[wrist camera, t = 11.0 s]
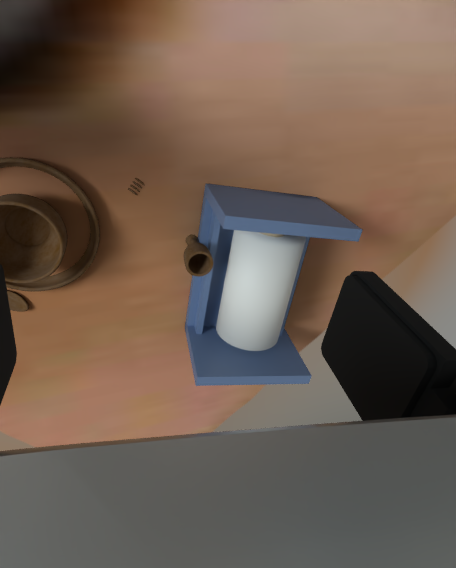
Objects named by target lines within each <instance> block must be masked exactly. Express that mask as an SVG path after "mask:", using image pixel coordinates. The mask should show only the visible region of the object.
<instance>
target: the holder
mask: <svg viewBox="0 0 456 568" xmlns="http://www.w3.org/2000/svg"><path fill="white" fill-rule="evenodd" d="M234 230H239V231H250V232H261V233H272V234H283V235H293V236H304V237H306V241H305V245H304V249H303V252H302V256H301V259H300V263H299V266H298V270H297V274H296V277H295V281H294V284H293V288H292V291H291V295H290V299H289V302H288V306H287V309H286V313H285V316H284V320H283V324H282V327H281V331H280V334H279V338H278V341H277V343H276V344H275V345H274V346H273V347H272V348H270V349H267V350H263V351H248V350H243V349H240V348H237V347H234V346H232V345H230V344H228V343H227V342H225V341H224V340H223V339H222V338H221V337H220V336H219V335H218V333H217V330H216V324H217V319H218V313H219V308H220V303H221V297H222V292H223V287H224V281H225V276H226V270H227V265H228V260H229V254H230V249H231V243H232V238H233V233H234ZM361 233H362V229H361V228H359V227H358V226H356V225H355V224H354V223H352V222H351V221H349V220H348V219H347V218H345V217H344V216H342V215H341V214H340V213H338V212H337V211H335V210H334V209H332V208H331V207H330V206H328V205H327V204H325V203H324V202H323V201H321V200H320V199H318V198H317V197H311V196H303V195H295V194H287V193H279V192H271V191H263V190H254V189H246V188H238V187H230V186H222V185H214V184H206V185H205V192H204V199H203V206H202V213H201V220H200V226H199V233H198V240H197V241H198V243H202V244H204V245H205V246H206V247H207V248H208V250H209V251H210V253H211V256H212V258H213V268H212V270H211V271H210V272H209V273H208V274H206V275H204V276H200V277H198V276H193V275H192V282H191V289H190V296H189V302H188V309H187V316H186V323H185V331H186V337H187V342H188V347H189V352H190V358H191V363H192V368H193V373H194V378H195V384H196V386H200V385H255V384H306V383H307V384H308V383H309V381H310V378H311V374H310V372H309V371H308V369H307V367H306V365H305V364H304V362H303V360H302V358H301V357H300V355H299V353H298V351H297V350H296V348H295V346H294V344H293V343H292V341H291V339H290V337H289V336H288V334H287V332H286V330H285V329H284V326H285V323H286V319H287V316H288V312H289V309H290V305H291V302H292V298H293V295H294V291H295V288H296V284H297V281H298V277H299V274H300V270H301V267H302V263H303V260H304V256H305V253H306V249H307V246H308V242H309V239H310V237H315V238H326V239H337V240H347V241H359V238H360V236H361Z"/></svg>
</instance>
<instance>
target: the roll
mask: <svg viewBox="0 0 456 568" xmlns="http://www.w3.org/2000/svg"><path fill="white" fill-rule="evenodd" d="M305 241H306V237H304V236H293V235H283V234H272V233H261V232H250V231H239V230H234V233H233V238H232V243H231V249H230V254H229V260H228V265H227V270H226V276H225V281H224V287H223V292H222V297H221V303H220V308H219V313H218V319H217V324H216V330H217V333H218V335H219V336H220V337H221V338H222V339H223V340H224V341H225V342H227V343H228V344H230V345H232V346H234V347H237V348H240V349H243V350H248V351H263V350H267V349H270V348H272V347H273V346H274V345H275V344H276V343H277V341H278V338H279V334H280V331H281V327H282V324H283V320H284V316H285V313H286V309H287V306H288V302H289V299H290V295H291V291H292V288H293V284H294V281H295V277H296V274H297V270H298V266H299V263H300V259H301V256H302V252H303V249H304V245H305Z"/></svg>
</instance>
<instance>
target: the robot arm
mask: <svg viewBox="0 0 456 568" xmlns="http://www.w3.org/2000/svg"><path fill="white" fill-rule="evenodd" d="M321 350H322V355H323V357H324V358H325V360H326V362H327V363H328V365H329V366H330V368H331V370H332V371H333V373H334V375H335V376H336V378H337V379H338V381H339V383H340V385H341V386H342V388H343V389H344V391H345V393H346V394H347V396H348V398H349V399H350V401H351V402H352V404H353V406H354V407H355V409H356V411H357V412H358V414H359V416H360V417H361V419H362V420H363V421H353V422H339V423H325V424H313V425H300V426H288V427H274V428H261V429H249V430H236V431H223V432H211V433H198V434H186V435H175V436H163V437H151V438H139V439H127V440H115V441H103V442H91V443H80V444H69V445H58V446H47V447H36V448H26V449H17V450H7V451H0V568H456V349H455V348H454V347H453V346H451V345H450V344H449V343H448V342H447V341H446V340H445V339H444V338H443V337H442V336H441V335H440V334H439V333H438V332H437V331H436V330H434V329H433V328H432V327H431V326H430V325H429V324H428V323H427V322H426V321H425V320H424V319H423V318H422V317H421V316H419V314H418V313H416V312H415V311H414V310H413V309H412V308H411V307H410V306H409V305H408V304H407V303H406V302H405V301H404V300H403V299H402V298H401V297H400V296H398V295H397V294H396V293H395V292H394V291H393V290H392V289H391V288H390V287H389V286H388V285H387V284H386V283H385V282H384V281H383V280H382V279H380V278H379V277H378V276H377V275H376V274H375V273H374V272H367V271H354V272H352V273H351V274H350V276H347V277H346V278H345V280H344V283H343V285H342V288H341V291H340V294H339V297H338V300H337V302H336V305H335V308H334V311H333V314H332V317H331V319H330V322H329V325H328V328H327V331H326V334H325V336H324V339H323V342H322V346H321ZM16 355H17V352H16V344H15V338H14V332H13V326H12V319H11V313H10V307H9V301H8V294H7V288H6V282H5V275H4V270H3V267H2V265H1V264H0V404H1V402H2V399H3V396H4V393H5V391H6V388H7V385H8V383H9V380H10V377H11V374H12V372H13V369H14V366H15V363H16Z"/></svg>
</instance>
